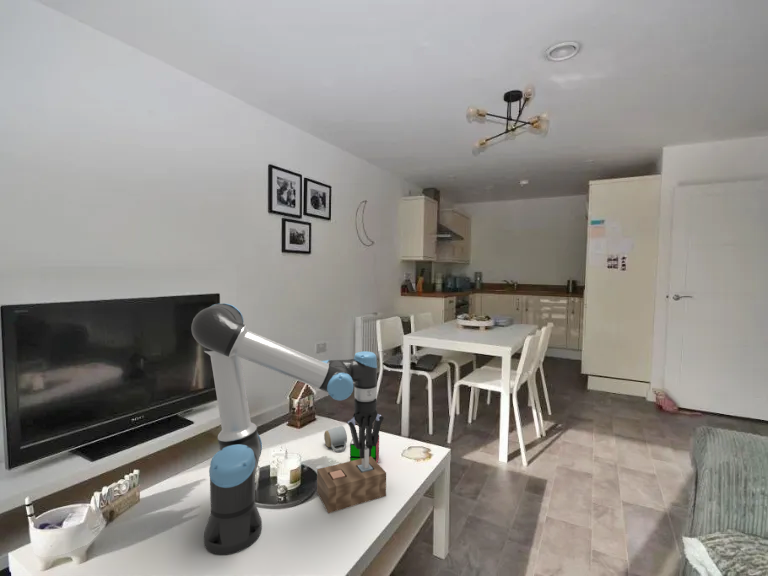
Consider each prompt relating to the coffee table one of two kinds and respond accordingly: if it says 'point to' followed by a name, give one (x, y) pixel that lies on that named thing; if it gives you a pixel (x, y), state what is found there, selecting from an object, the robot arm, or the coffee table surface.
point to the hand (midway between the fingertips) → (365, 466)
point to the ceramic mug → (336, 438)
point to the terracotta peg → (337, 475)
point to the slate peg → (364, 468)
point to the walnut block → (350, 485)
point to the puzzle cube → (374, 451)
